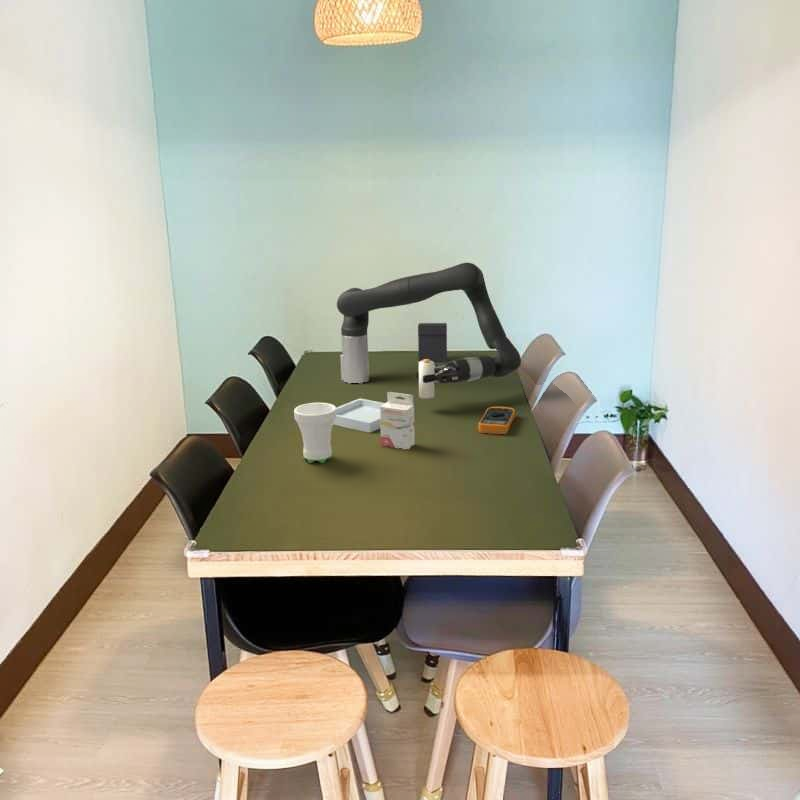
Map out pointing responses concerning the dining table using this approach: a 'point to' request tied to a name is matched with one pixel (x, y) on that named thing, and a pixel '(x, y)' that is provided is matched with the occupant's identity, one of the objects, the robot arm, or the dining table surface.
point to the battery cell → (424, 388)
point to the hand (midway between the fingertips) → (419, 377)
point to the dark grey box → (432, 341)
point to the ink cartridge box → (397, 421)
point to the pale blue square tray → (359, 415)
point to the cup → (316, 429)
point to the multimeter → (496, 420)
